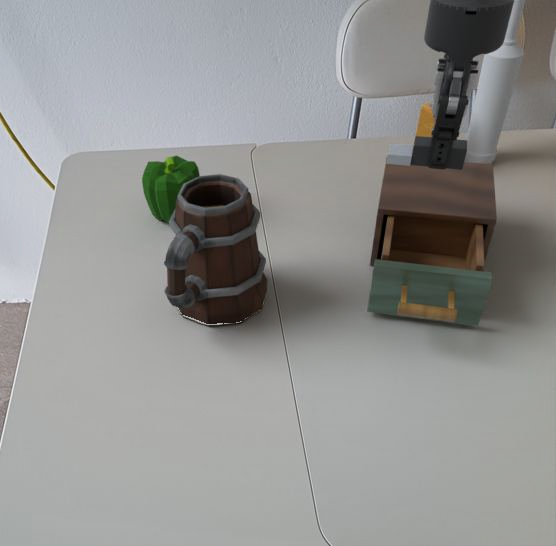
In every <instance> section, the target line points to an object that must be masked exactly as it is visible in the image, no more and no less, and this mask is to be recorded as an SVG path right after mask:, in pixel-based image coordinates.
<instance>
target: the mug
mask: <svg viewBox="0 0 556 546" xmlns="http://www.w3.org/2000/svg"><path fill="white" fill-rule="evenodd" d="M252 197H253V196H252V193H251V192H250V191H249V188H248V187H247V185H246V184H245V183H244V182H243V181H242V180H241V179H240V178H238V177H234V176H231V175H226V174H222V173H218V174H217V173H216V174H207V175H200V176H199V177H197V178H195V179H193V180H191V181H189V182H187V183H184V184H183V186H182V188H181V190H180V192H179V194H178V198H177V199H176V206H175V210H174V212H173V214H172V216H171V218H170V220H169V223H168V225H169V227H170V229H171V231H172V232H173V233H174V235H175V236H174V238H173V239H172V240H171V242H170V244H169V246H168V248H167V251H166V255H165V259H164V261H163V265H164V266H165V268H166V279H167V280H166V282H167V286H166V287H165V289H164V294H165V296H166V298H167V300H168V302H169V303H170V304H171V305H172V306H174V307H176V308H177V307H178V308H179V310H180V312H181V313H182V315H185V316H188V317H191V318H194V319H196V320H199V321H201V322H204V323H206V324H217V323H223V324H224V323H236V322H240V321H242V322H244V321H245V320H244V319H245V318H247V317H249V316H250V317H252V316H253V315H252V314H254V313H255V314H256V312H257V313H259V312H260V311H262V310H263V307H264V304H265V300H266V297H267V292H268V278H267V276H266V274H265V272H264V270H265V267H266V264H267V258H266V257H265V256H264V254H263V253H262V252H261V251H260V250H259V243H258V235H257V228H258V225H259V222H260V219H261V211H260V210H259V209H258V208H257V207H256V206H255V205H254V204H253V198H252ZM265 296H266V297H265ZM263 303H264V304H263ZM261 309H262V310H261ZM179 310H178V311H179ZM259 310H260V311H259ZM180 312H179V313H180ZM255 314H254V315H255ZM182 315H181V316H182ZM251 315H252V316H251ZM250 317H249V318H250ZM247 319H248V318H247ZM243 320H244V321H243Z"/></svg>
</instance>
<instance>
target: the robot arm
mask: <svg viewBox="0 0 556 546" xmlns="http://www.w3.org/2000/svg"><path fill="white" fill-rule="evenodd" d="M513 4H514V0H430V1H429V6H428V12H427V18H426V23H425V29H424V30H425V31H424V37H423V40H424V43H425V45H426V46H428V48H429V49H431V50H433V51H435V52H437V53H441V52H442V53H443V58H442V57H438V59H437V65H436V70H435V78H434V86H435V88H434V93H433V101H432V102H433V107H432V114H433V118H434V121H435V122H434V128H432V131H431V135H432V142H431V147H430V152H429V157H428V163H427V166H428V167H429V168H432V169H446V168H447V167H448V164H449V160H450V155H451V151H452V146H453V142H454V140H457V139H458V138H459V137H460V129H461V125H462V122H463V118H464V117H465V116H467V112H468V108H469V103H470V100H471V95H472V91H473V90H474V89H475V87H476V84H477V80H478V76H479V69H478V68H479V67H478V66H479V62H480V61H479V60H478V59H474V58H476V57H478V56H480V55H484V54H488V53H491V52H494V51H496V50H498V49H499V48H500V47H501V46H502V45H503V43H504V40H505V36H506V32H507V28H508V24H509V20H510V16H511V12H512V8H513Z"/></svg>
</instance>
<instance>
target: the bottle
mask: <svg viewBox="0 0 556 546" xmlns="http://www.w3.org/2000/svg"><path fill="white" fill-rule="evenodd" d="M526 1H527V0H514V4H513V8H512V12H511V16H510V20H509V24H508V28H507V32H506V36H505V40H504V43H503V45H502V46H501V47H500V48H499V49H498V50H496V51H494V52H491V53H488V54H483V58H482V63H481V68H480V73H479V78H478V83H477V88H476V91H475V92H476V93H475V97H474V102H473V106H472V111H471V112H472V113H471V116H470V121H469V124H468V125H469V126H468V130H467V135H466V139H465V140H467V153H466V157H465V161H464V162H470V163H483V164H493V162H494V161H495V159H496V157H497V154H498V144H499V141H500V137H501V133H502V130H503V127H504V123H505V120H506V116H507V113H508V109H509V107H510V103H511V99H512V96H513V93H514V90H515V85H516V83H517V79H518V76H519V72H520V69H521V65H522V62H523V59H524V55H525V52H524V49H523V48H522V47H521V46H520V45H519V43H518V42H519V41H518V40H519V39H518V38H517V34H518V32H519V27H520V23H521V18H522V15H523V11H524V7H525V3H526Z"/></svg>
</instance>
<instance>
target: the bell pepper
mask: <svg viewBox="0 0 556 546" xmlns="http://www.w3.org/2000/svg"><path fill="white" fill-rule="evenodd" d="M199 169H200V168H199V166H198V165H197V163H196V161H195V160H194V161H193V160H187V159H184V158H183V157H180V156H178V155H173V156H168V157H166V158H165V160H164V161H160V160H159V161H158V160H157V161H147V164H146V165H145V168H144V171H143V174H142V177H141V184H142V190H143V196H144V198H145V200H146V203H147V205H148V208H149V210H150V213H151V214H152V216H153V217H154V218H155V219H157V220H159V221H164V223H166V224H169V220H170V218H171V216H172V214H173V212H174V210H175V206H176V199H177V198H178V194H179V192H180V190H181V188H182V186H183V184H184V183H187V182H189V181H191V180H193V179H195V178H197V177H199V176H201V175H200V170H199Z"/></svg>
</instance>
